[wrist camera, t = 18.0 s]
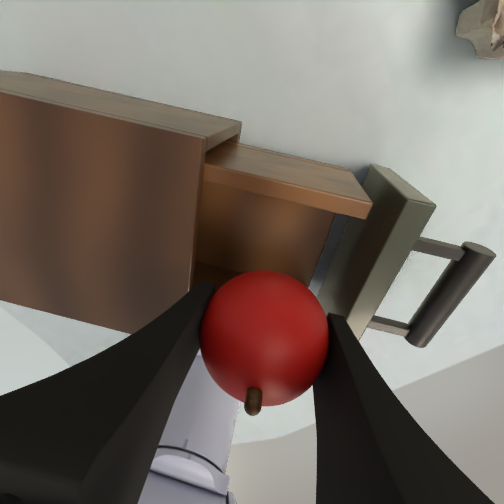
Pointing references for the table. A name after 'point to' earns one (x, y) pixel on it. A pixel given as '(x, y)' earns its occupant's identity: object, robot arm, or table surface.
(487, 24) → the egg carton
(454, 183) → the table surface
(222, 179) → the drawer
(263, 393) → the apple
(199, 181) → the cabinet
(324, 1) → the table surface
